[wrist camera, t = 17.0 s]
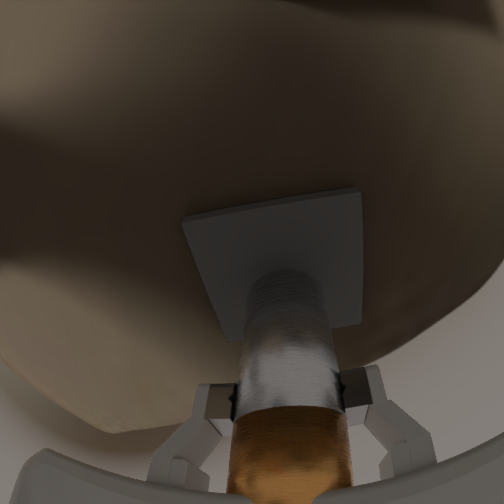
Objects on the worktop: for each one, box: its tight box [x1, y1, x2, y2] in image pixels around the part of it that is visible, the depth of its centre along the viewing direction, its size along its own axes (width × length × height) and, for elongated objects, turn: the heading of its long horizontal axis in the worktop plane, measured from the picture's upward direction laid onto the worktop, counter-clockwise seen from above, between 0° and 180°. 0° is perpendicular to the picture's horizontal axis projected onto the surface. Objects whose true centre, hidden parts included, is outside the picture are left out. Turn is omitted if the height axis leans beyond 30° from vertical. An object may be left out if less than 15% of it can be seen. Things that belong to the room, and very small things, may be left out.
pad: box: [181, 187, 364, 342], centre depth 16 cm, size 9×9×1 cm
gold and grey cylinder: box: [226, 269, 354, 504], centre depth 10 cm, size 4×4×11 cm
